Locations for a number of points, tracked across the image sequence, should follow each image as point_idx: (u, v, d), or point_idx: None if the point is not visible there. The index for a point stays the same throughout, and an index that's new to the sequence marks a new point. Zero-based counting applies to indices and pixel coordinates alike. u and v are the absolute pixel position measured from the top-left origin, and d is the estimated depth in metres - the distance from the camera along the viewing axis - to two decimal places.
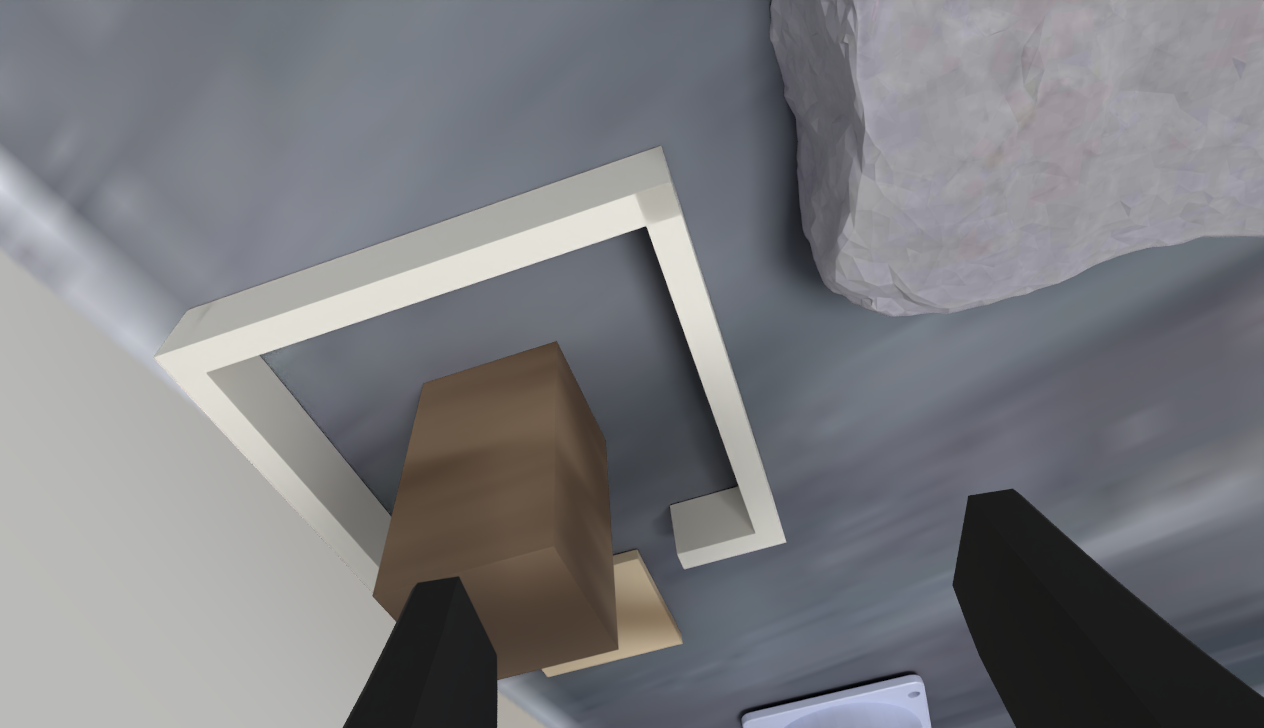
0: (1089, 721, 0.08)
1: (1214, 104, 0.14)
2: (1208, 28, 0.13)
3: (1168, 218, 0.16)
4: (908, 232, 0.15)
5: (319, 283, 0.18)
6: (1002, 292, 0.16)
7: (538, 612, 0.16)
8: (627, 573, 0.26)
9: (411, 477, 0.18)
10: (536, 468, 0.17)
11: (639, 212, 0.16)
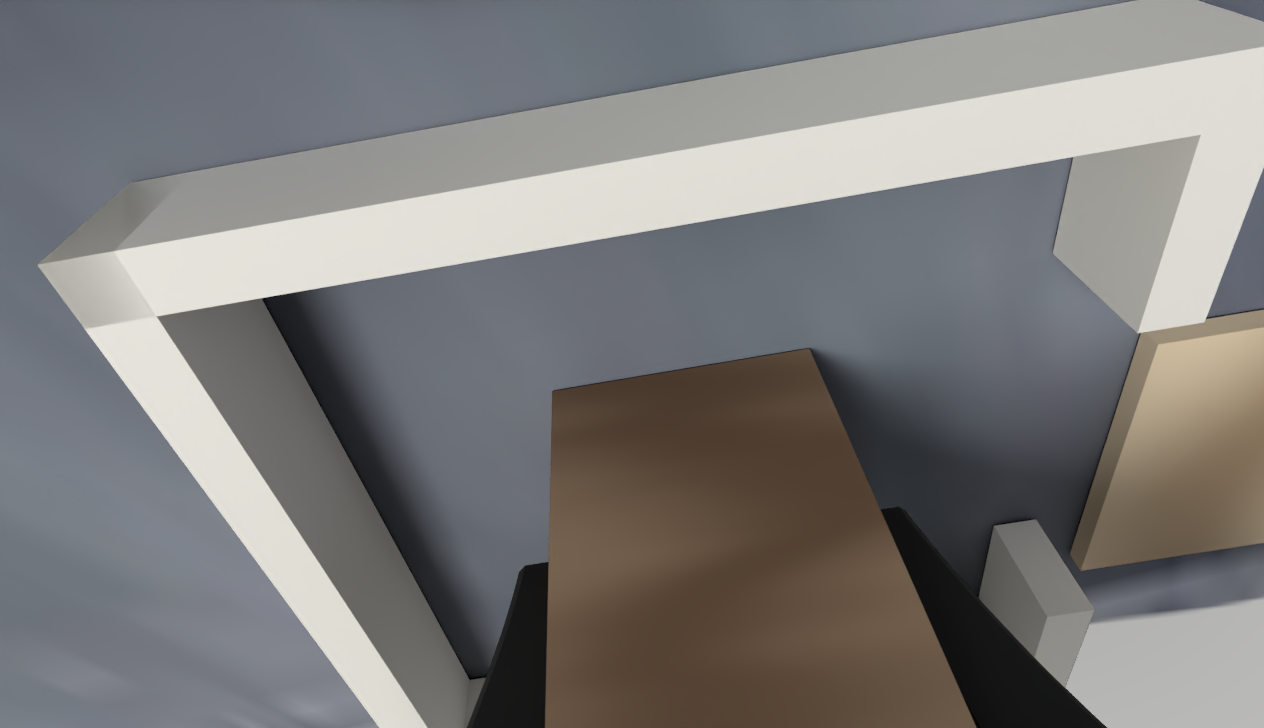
0: None
1: None
2: None
3: None
4: None
5: None
6: None
7: None
8: (1188, 367, 0.12)
9: None
10: None
11: (125, 325, 0.08)
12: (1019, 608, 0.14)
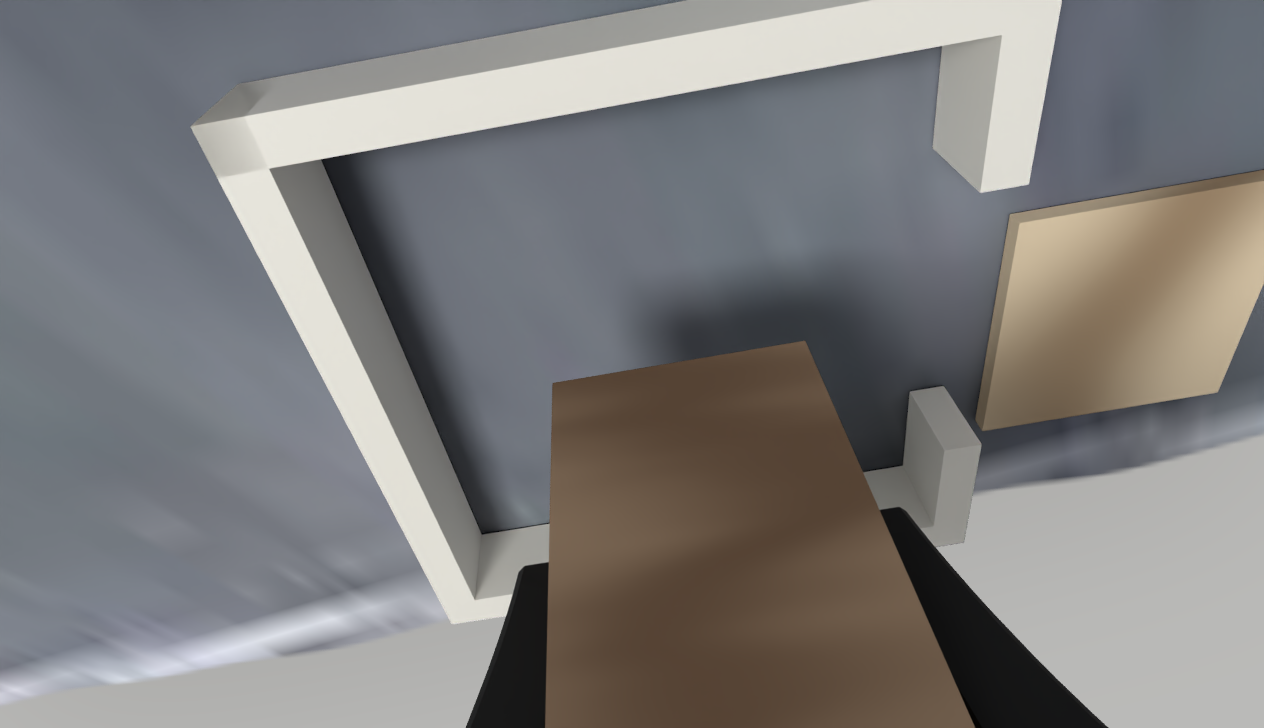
0: None
1: None
2: None
3: None
4: None
5: None
6: None
7: None
8: (1046, 243, 0.15)
9: None
10: None
11: (246, 175, 0.11)
12: (928, 454, 0.17)
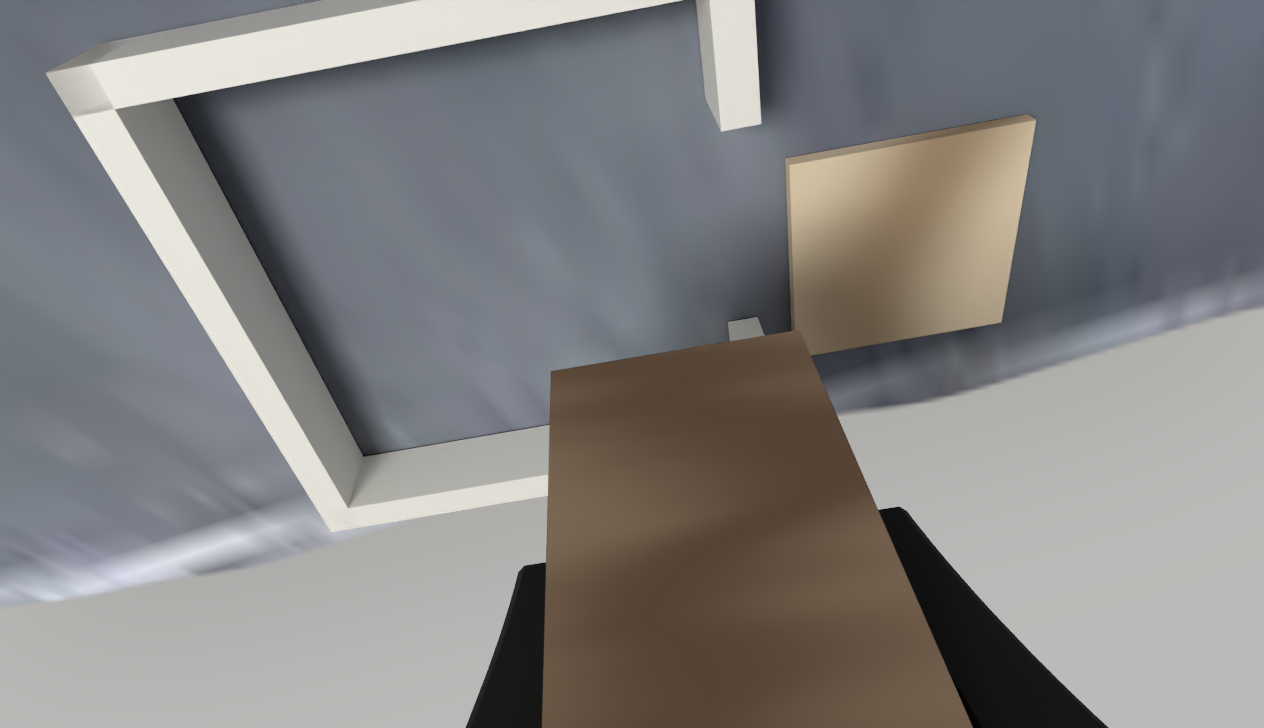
0: None
1: None
2: None
3: None
4: None
5: None
6: None
7: None
8: (817, 184, 0.17)
9: None
10: None
11: (96, 115, 0.14)
12: None
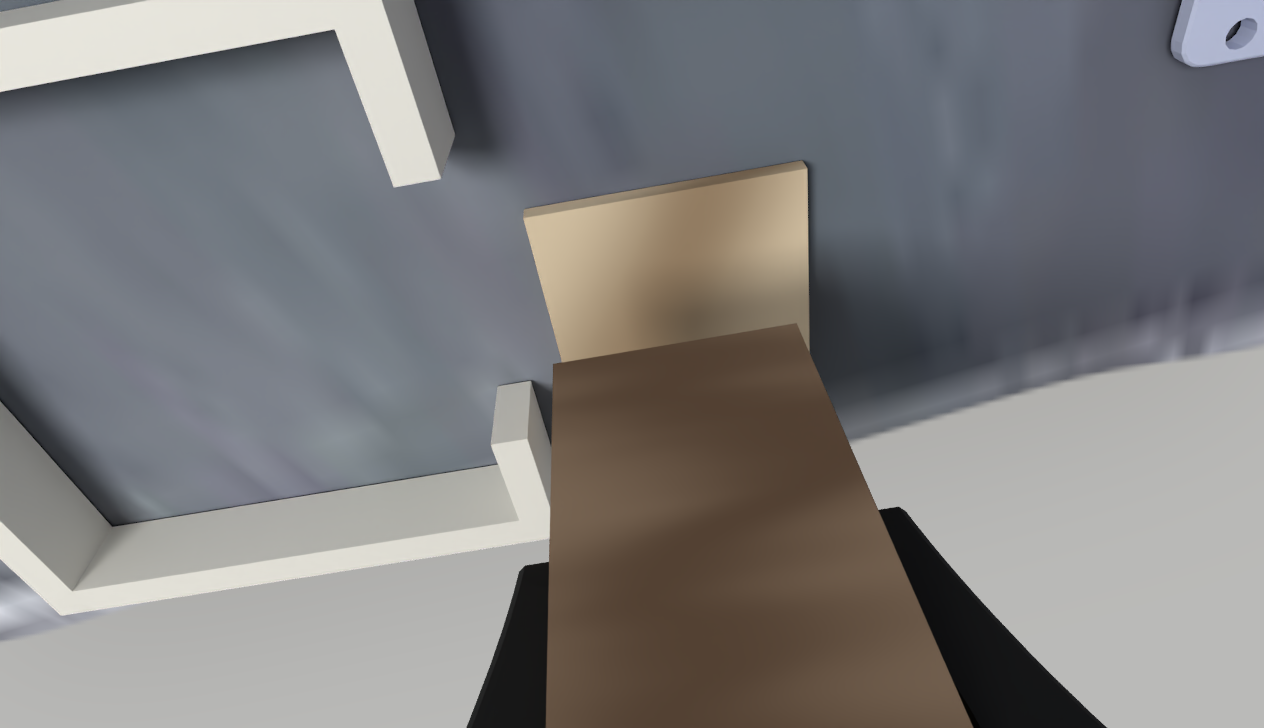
0: None
1: None
2: None
3: None
4: None
5: None
6: None
7: None
8: (561, 239, 0.15)
9: None
10: None
11: None
12: None
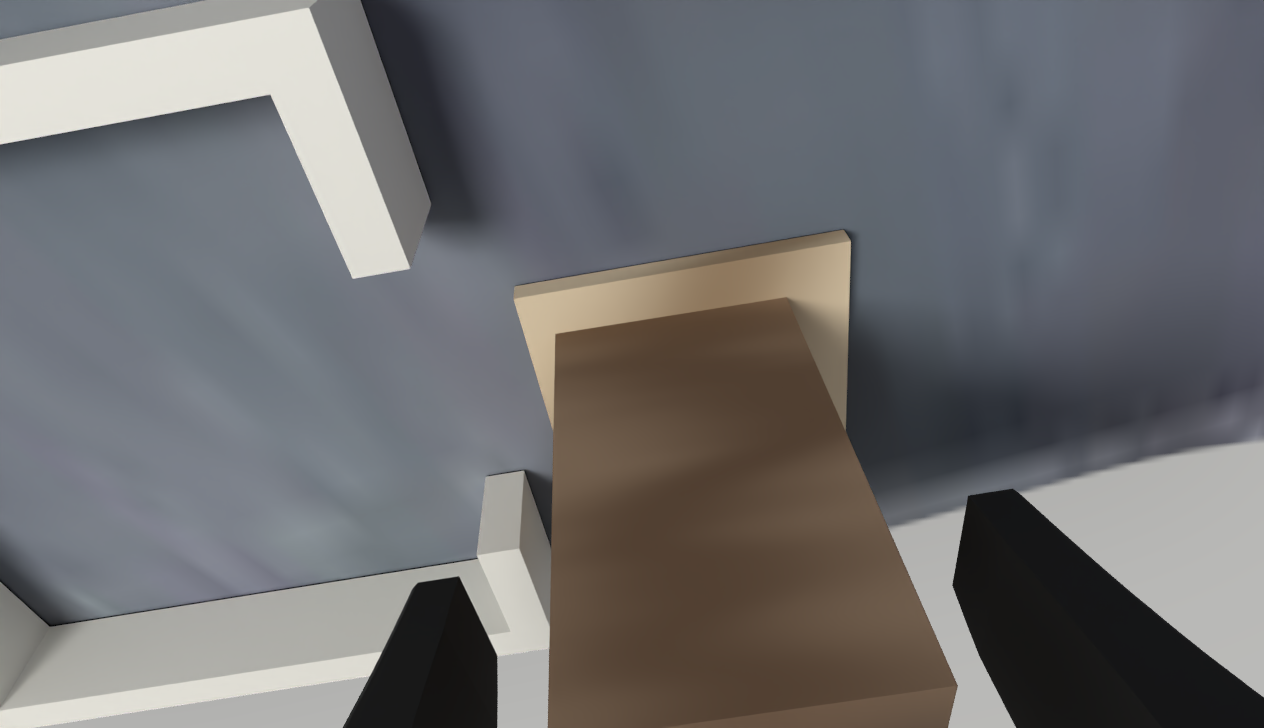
0: (1088, 722, 0.08)
1: None
2: None
3: None
4: None
5: None
6: None
7: None
8: (558, 321, 0.13)
9: None
10: None
11: None
12: None
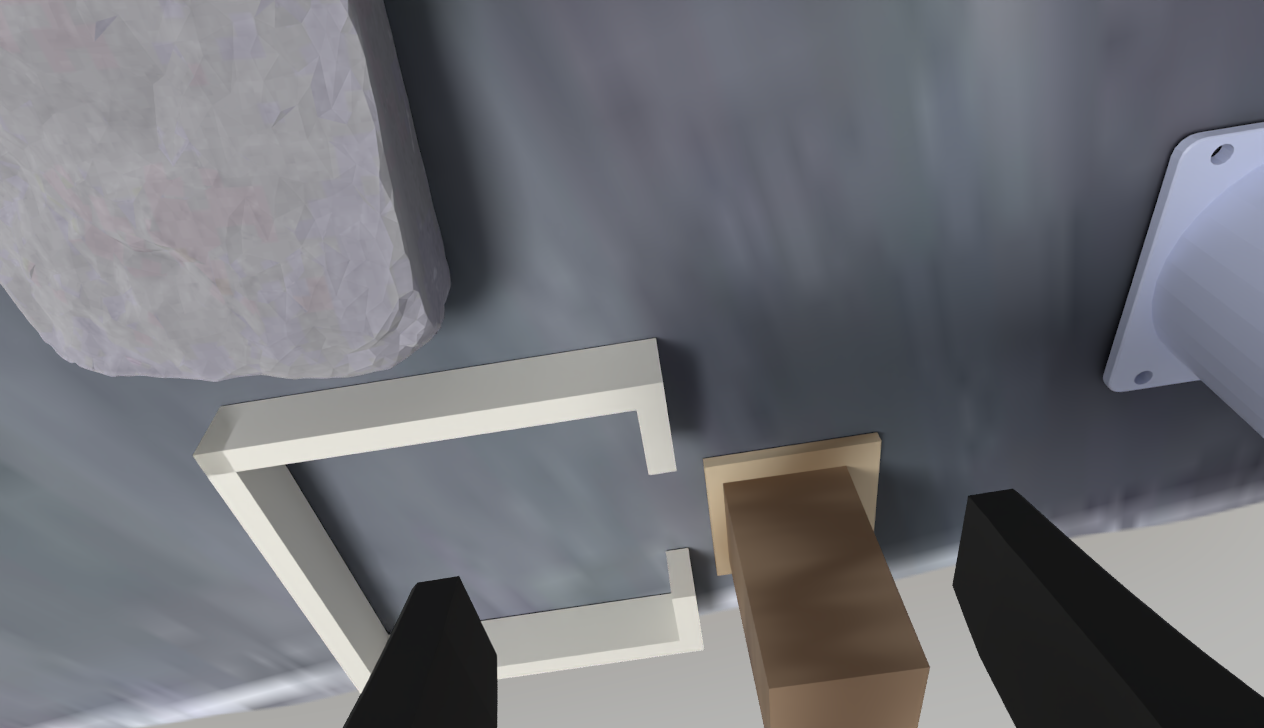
0: (1089, 721, 0.08)
1: (149, 39, 0.13)
2: (75, 76, 0.13)
3: (303, 38, 0.13)
4: (301, 354, 0.16)
5: None
6: (384, 243, 0.15)
7: (844, 701, 0.19)
8: (725, 477, 0.24)
9: (749, 651, 0.23)
10: (751, 618, 0.21)
11: (223, 475, 0.20)
12: None
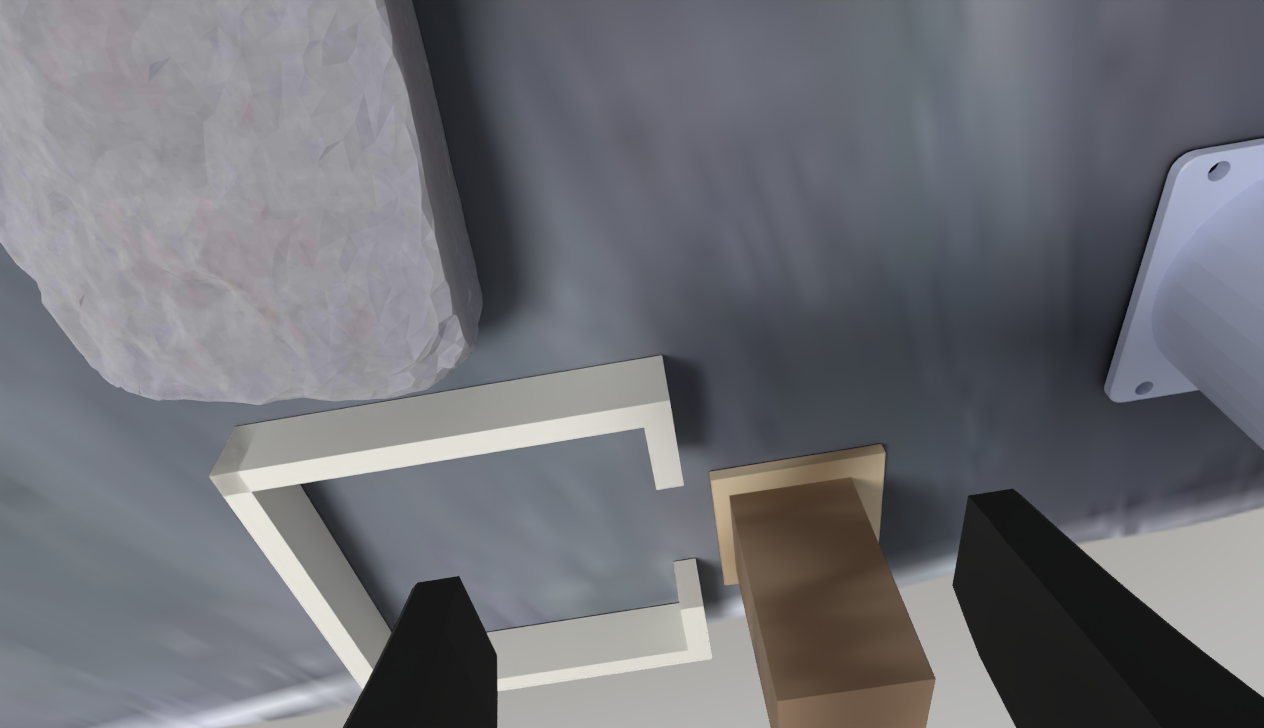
0: (1089, 721, 0.08)
1: (201, 80, 0.13)
2: (128, 116, 0.13)
3: (349, 76, 0.13)
4: (343, 377, 0.16)
5: None
6: (425, 271, 0.15)
7: (851, 712, 0.20)
8: (731, 490, 0.24)
9: (757, 661, 0.24)
10: (759, 630, 0.21)
11: (239, 495, 0.21)
12: None
